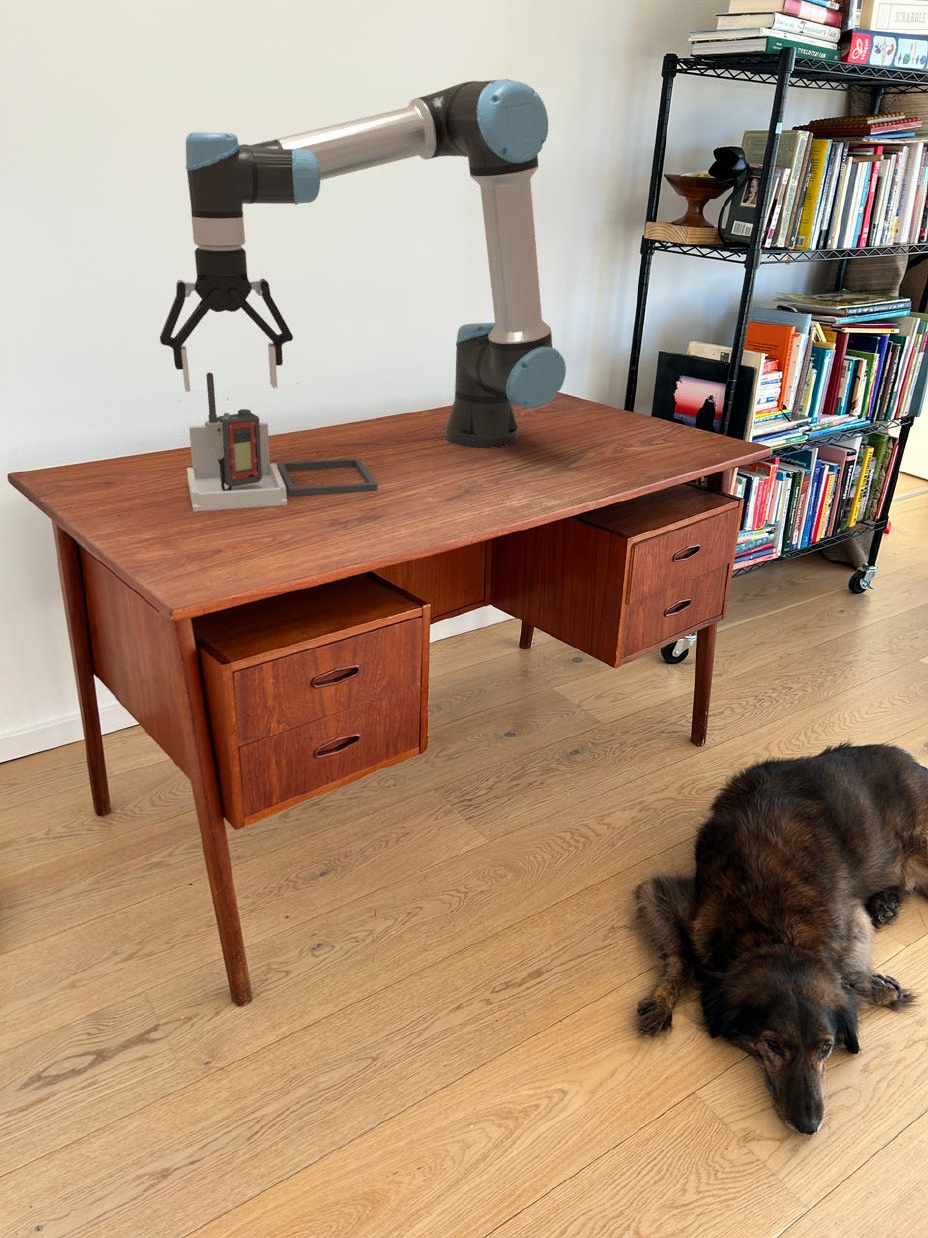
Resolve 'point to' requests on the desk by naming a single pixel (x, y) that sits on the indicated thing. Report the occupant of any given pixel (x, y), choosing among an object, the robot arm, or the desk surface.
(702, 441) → the desk surface
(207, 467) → the dock
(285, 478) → the grey square frame
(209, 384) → the walkie-talkie
